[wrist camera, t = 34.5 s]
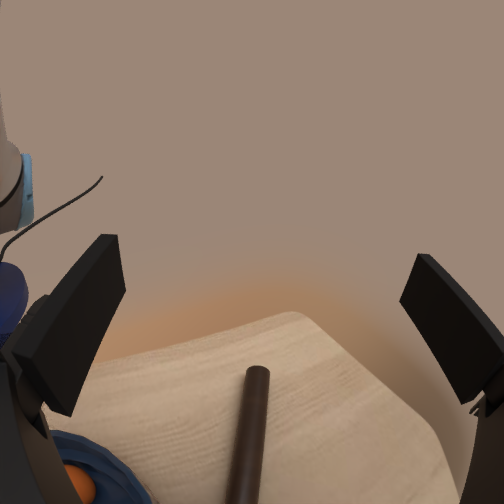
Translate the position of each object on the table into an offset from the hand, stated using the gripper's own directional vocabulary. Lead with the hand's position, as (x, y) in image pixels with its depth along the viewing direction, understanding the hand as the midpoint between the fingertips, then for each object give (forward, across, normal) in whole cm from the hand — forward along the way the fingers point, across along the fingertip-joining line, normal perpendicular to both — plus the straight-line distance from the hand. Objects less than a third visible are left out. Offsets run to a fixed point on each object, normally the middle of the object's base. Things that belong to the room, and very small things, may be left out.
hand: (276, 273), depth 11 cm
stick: (+10, +2, -19) cm, 21 cm away
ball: (-7, -14, -18) cm, 24 cm away
